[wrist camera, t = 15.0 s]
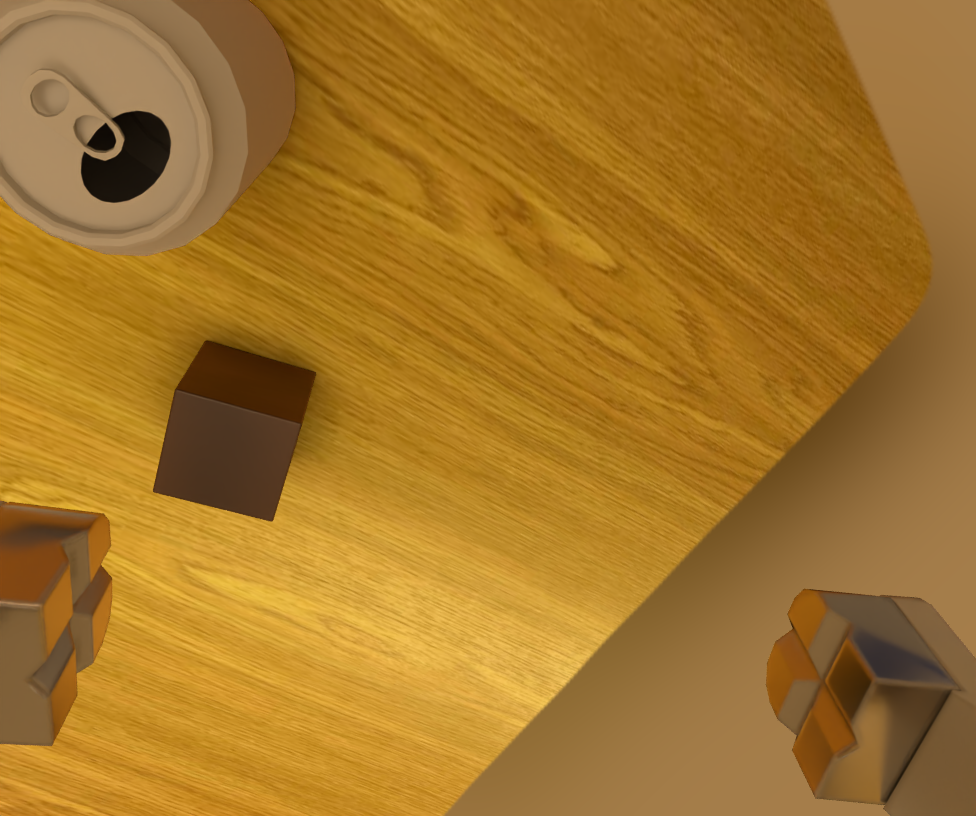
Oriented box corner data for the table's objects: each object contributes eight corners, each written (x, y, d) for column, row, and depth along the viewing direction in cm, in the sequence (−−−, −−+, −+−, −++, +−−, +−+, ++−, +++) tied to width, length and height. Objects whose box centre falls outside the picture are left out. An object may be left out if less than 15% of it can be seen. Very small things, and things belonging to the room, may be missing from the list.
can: (212, 220, 34) (114, 327, 23) (56, 74, 31) (-138, 120, 20) (339, 91, 32) (296, 144, 21) (186, -77, 29) (47, -113, 18)
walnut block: (316, 371, 37) (302, 423, 33) (289, 462, 39) (272, 522, 35) (205, 339, 36) (174, 388, 32) (183, 433, 38) (152, 492, 34)
